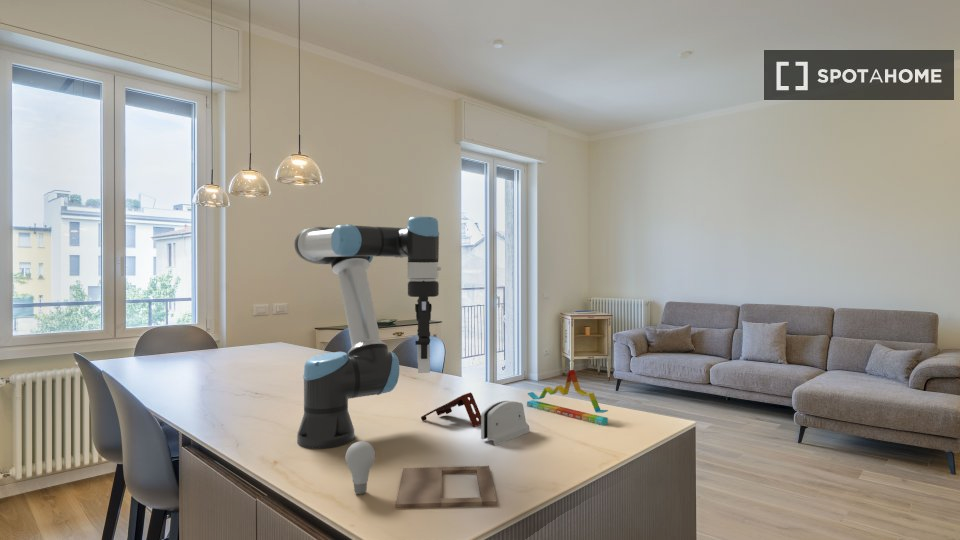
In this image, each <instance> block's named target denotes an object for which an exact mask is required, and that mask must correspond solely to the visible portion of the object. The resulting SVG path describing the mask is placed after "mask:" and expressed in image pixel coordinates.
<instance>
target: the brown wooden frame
mask: <svg viewBox="0 0 960 540" xmlns="http://www.w3.org/2000/svg"><path fill="white" fill-rule="evenodd" d="M461 474H463V475H465V474H468V475H469V474H472V475H473V474H476V477H477V484H478V489H479V497H452V498H451V497H450V498H449V497H446V498H445V497H444V498H443V497H442V493H443V491H442V490H443V486H442V485H443V475H461ZM494 486H495V485H494V482H493V478H492V472H491V469H490V466H489V465H471V466H469V465H468V466H435V467H434V466H433V467H431V466H430V467H427V466H426V467H403V468H402V472H401V476H400V482H399V487H398V490H397V491H398V492H397V495H396V500H395V509H424V508H425V509H427V508H429V509H430V508H463V507H466V508H467V507H469V508H471V507H497V506H498V500H497V497H496V496H497V495H496V490H495V487H494Z"/></svg>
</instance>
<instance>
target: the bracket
mask: <svg viewBox="0 0 960 540" xmlns="http://www.w3.org/2000/svg"><path fill="white" fill-rule="evenodd" d="M457 406H458V407H462V406H464V408H465V410H466V414H467V416H468V418H469V421H470V423H471V425H472V427H473V428H475V427H478V426H479V425H480V426H481V414H482V413H481V412H480V409H479V408H478V405H477V403H476V400H475V397H474V395H473V393H472V392H467V393H465V394H462V395H460V396H459V397H456V398H455V399H452V400H450V401H449V402H447V403H445V404H444V405H441V406H439V407H436V408H435V409H433V410H431V411H429V412H428V413H426V414H424V415H422V416H421V417H420V419H421V421H422V422H425V421H427V416H429V415H431V414H432V413H434V412H436V414H437V416H440V415H443V414H445V415H449V414H450V413H452V412H453V410H452V408H454V407H457ZM472 407H473V408H472ZM477 419H478V420H477Z"/></svg>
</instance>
